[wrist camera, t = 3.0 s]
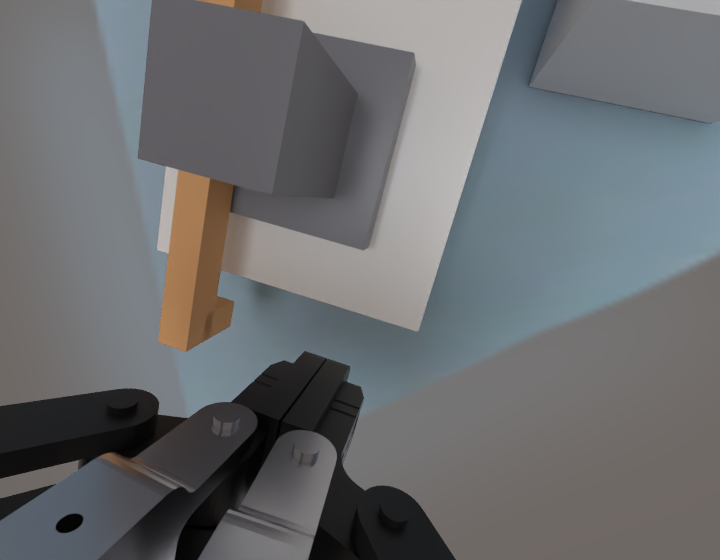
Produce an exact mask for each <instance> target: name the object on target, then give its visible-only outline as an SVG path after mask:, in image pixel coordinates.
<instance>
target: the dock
mask: <svg viewBox="0 0 720 560" xmlns="http://www.w3.org/2000/svg"><path fill="white" fill-rule="evenodd" d="M529 87H533V88H538V89H543V90H548V91H553V92H558V93H563V94H568V95H573V96H577V97H582V98H587V99H592V100H597V101H602V102H607V103H612V104H617V105H622V106H627V107H632V108H637V109H641V110H646V111H651V112H656V113H661V114H666V115H671V116H676V117H681V118H686V119H691V120H696V121H701V122H706V123H710V124H711V123H714V122H717V121H720V0H558V1H557V4H556V7H555V10H554V13H553V15H552V18H551V21H550V24H549V27H548V30H547V33H546V36H545V39H544V42H543V45H542V48H541V51H540V54H539V57H538V60H537V63H536V66H535V69H534V72H533V75H532V78H531V81H530V84H529Z"/></svg>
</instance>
